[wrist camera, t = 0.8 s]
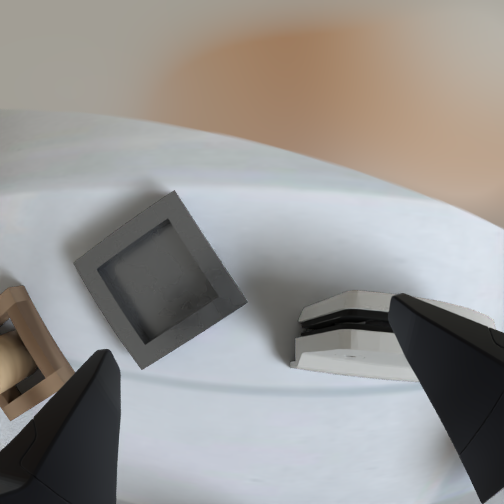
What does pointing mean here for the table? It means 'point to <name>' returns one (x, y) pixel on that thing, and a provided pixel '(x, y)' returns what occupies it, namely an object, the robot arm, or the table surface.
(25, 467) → the robot arm
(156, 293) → the metal cradle
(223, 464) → the table surface
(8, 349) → the oak axle peg
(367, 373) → the white plastic device casing
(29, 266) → the table surface
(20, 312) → the walnut collar block
